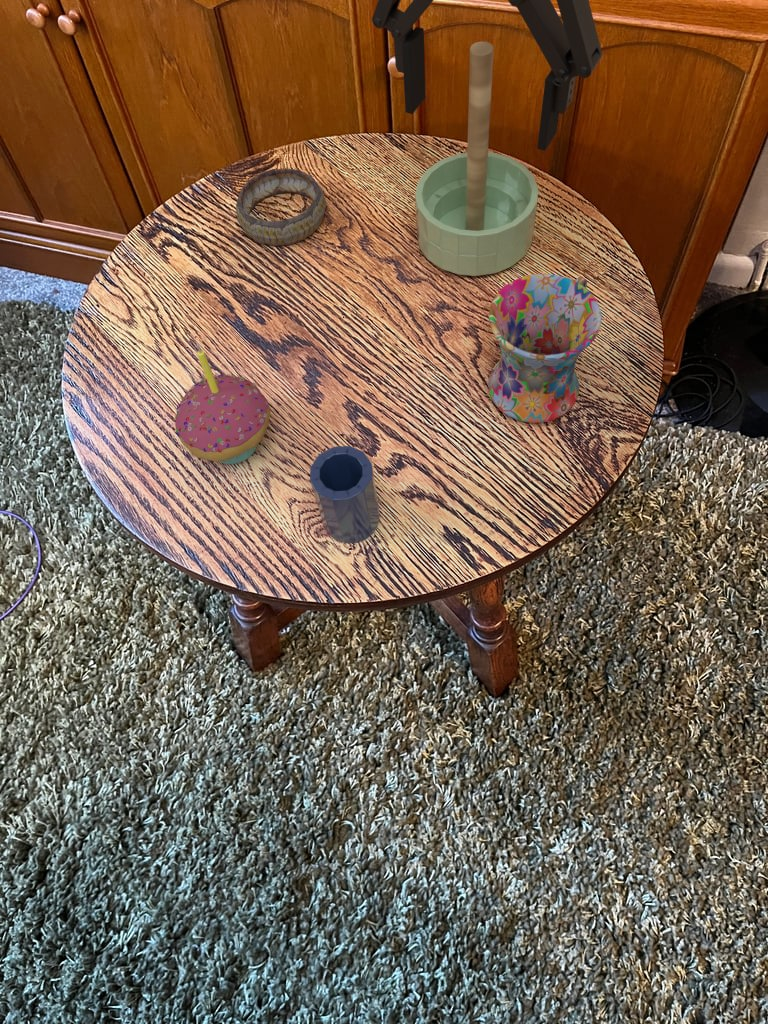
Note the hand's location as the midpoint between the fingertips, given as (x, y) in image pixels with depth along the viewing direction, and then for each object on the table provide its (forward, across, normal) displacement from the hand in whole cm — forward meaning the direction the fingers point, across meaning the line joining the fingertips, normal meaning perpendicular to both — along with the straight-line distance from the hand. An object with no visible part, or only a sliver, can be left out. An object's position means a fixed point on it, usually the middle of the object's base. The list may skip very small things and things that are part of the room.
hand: (479, 122), depth 72 cm
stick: (+13, 0, 0) cm, 13 cm away
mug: (+14, +14, -15) cm, 25 cm away
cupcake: (+14, -9, -34) cm, 38 cm away
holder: (+14, +5, -36) cm, 39 cm away
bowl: (+14, 0, 0) cm, 14 cm away
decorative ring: (+14, -21, -6) cm, 26 cm away
